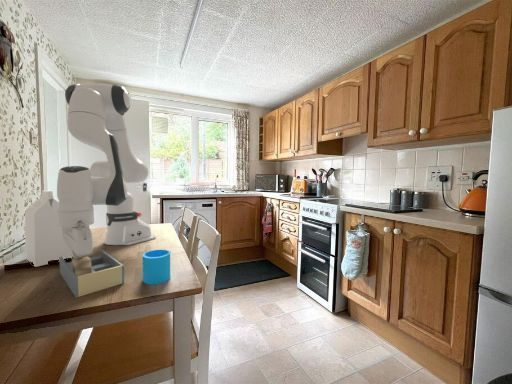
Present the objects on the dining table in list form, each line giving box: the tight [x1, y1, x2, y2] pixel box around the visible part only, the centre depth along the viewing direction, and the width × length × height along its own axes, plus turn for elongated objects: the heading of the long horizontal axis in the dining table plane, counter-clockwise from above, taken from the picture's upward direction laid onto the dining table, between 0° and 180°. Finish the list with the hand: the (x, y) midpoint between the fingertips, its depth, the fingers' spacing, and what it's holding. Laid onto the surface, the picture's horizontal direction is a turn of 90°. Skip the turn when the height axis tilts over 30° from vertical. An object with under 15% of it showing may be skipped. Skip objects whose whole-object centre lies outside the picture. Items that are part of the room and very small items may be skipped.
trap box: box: [58, 248, 125, 298], centre depth 75 cm, size 12×22×6 cm, turn 48°
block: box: [71, 256, 92, 276], centre depth 72 cm, size 4×4×4 cm
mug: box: [142, 249, 171, 285], centre depth 77 cm, size 12×8×8 cm
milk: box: [24, 189, 73, 268], centre depth 90 cm, size 12×12×26 cm
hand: (78, 262), depth 74 cm, fingers closed
